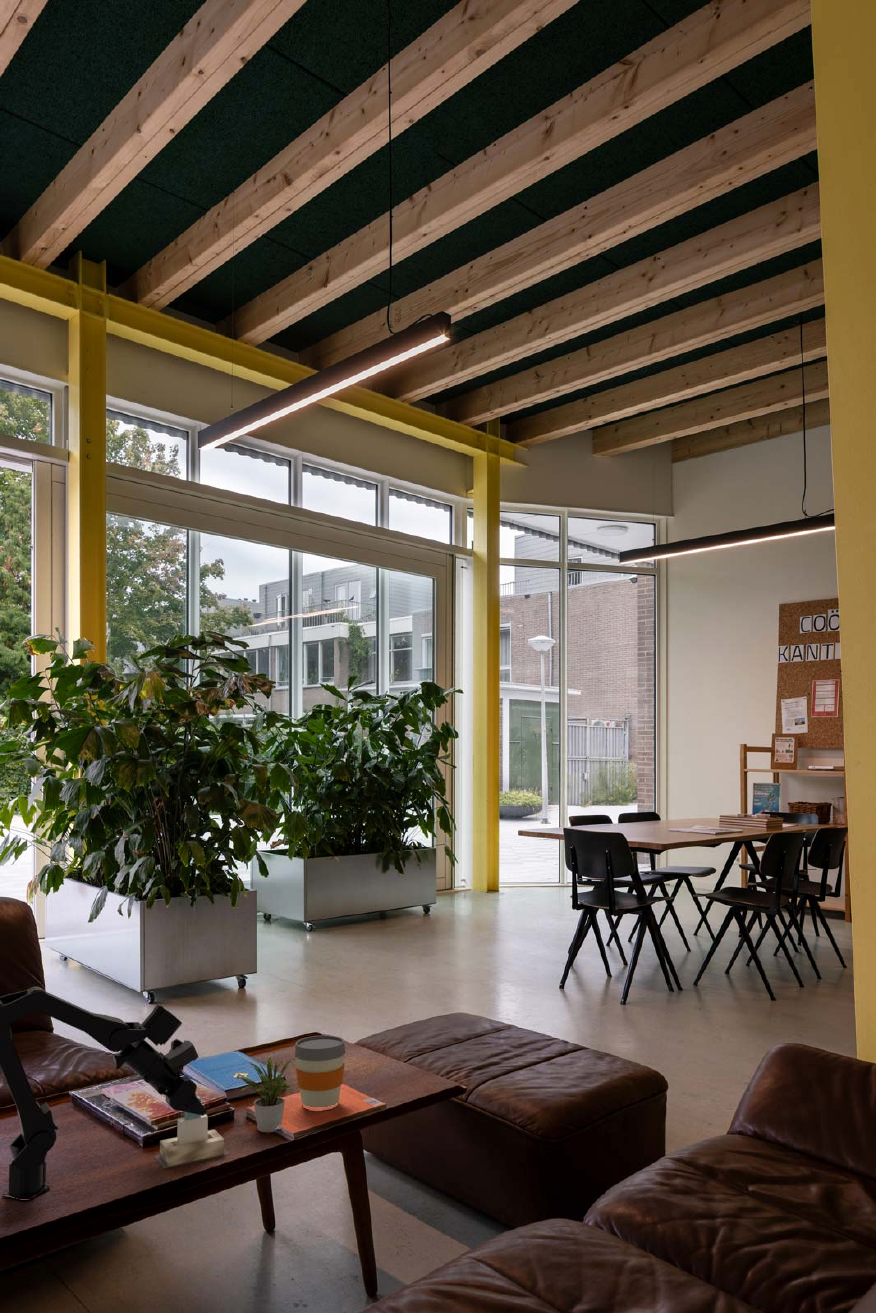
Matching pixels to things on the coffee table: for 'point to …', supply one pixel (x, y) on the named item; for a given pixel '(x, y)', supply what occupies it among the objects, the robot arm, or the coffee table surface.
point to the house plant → (268, 1096)
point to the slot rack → (191, 1149)
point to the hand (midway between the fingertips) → (198, 1107)
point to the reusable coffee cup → (320, 1069)
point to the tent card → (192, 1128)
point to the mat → (186, 1162)
